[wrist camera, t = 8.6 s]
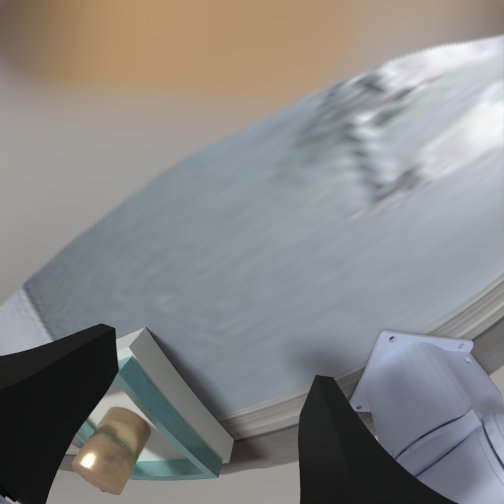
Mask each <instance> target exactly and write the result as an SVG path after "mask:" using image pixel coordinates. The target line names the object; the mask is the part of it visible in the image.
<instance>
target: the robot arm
mask: <svg viewBox="0 0 504 504" xmlns="http://www.w3.org/2000/svg"><path fill="white" fill-rule="evenodd" d="M392 336H394V338H393V339H391V340H389V339H390V337H392ZM460 344H461V345H460ZM459 345H460V346H459ZM472 347H473V342H472V341H471V340H469V339H458V338H448V337H438V336H429V335H420V334H412V333H404V332H396V331H389V330H385V331H383V332H382V333H381V334H380V335H379V338H378V340H377V342H376V345H375V347H374V350H373V352H372V354H371V357H370V359H369V361H368V363H367V366H366V368H365V370H364V372H363V375H362V377H361V379H360V381H359V383H358V385H357V387H356V389H355V391H354V393H353V395H352V397H351V399H350V401H349V402H348V400H347V399H346V397H345V395H344V394H343V392H342V391H341V389H340V388H339V386H338V384H337V383H336V381H335V380H334V378H333V377H327V376H319V375H316V376H315V378H314V381H313V384H312V386H311V389H310V391H309V394H308V396H307V399H306V401H305V404H304V406H303V408H302V411H301V413H300V420H299V433H298V448H299V468H300V490H301V491H300V492H301V493H300V504H504V404H503V399H502V395H501V393H500V391H499V390H498V388H497V387H496V386H495V384H494V383H493V382H492V380H491V379H490V378H489V376H488V375H487V374H486V372H485V371H484V370H483V369H482V367H481V366H480V365H479V364H478V362H477V361H476V360H475V359H474V357H473V356H472V355H471V354H470V351H471V349H472ZM118 371H119V366H118V356H117V345H116V332H115V328H113V327H110V326H107V325H105V324H98V325H95V326H93V327H90V328H87V329H85V330H82V331H80V332H77V333H74V334H72V335H69V336H67V337H64V338H62V339H59V340H56V341H54V342H51V343H48V344H45V345H42V346H39V347H36V348H33V349H30V350H26V351H22V352H18V353H13V354H9V355H3V356H0V504H11V503H10V502H8V501H7V500H6V499H5V497H6V496H7V497H8V498H10V499H11V500H12V501H13V502H16V501H18V502H19V503H20V504H46V501H47V498H48V494H49V491H50V488H51V486H52V483H53V480H54V478H55V475H56V473H57V470H58V468H59V466H60V464H61V462H62V460H63V458H64V455H65V453H66V451H67V450H68V448H69V446H70V444H71V442H72V440H73V438H74V437H75V435H76V434H77V432H78V431H79V429H80V428H81V426H82V425H83V424H84V422H85V421H86V420H87V418H88V417H89V416H90V414H91V413H92V412H93V410H94V409H95V408H96V406H97V405H98V404H99V402H100V401H101V400H102V398H103V397H104V395H105V394H106V393H107V391H108V390H109V388H110V386H111V384H112V383H113V381H114V379H115V377H116V375H117V373H118ZM358 406H359V407H358ZM355 411H360V412H371V414H372V418H373V422H374V425H375V429H376V433H377V437H378V441H379V442H378V441H377V440H376V439H375V437H374V436H373V435H372V434H371V433H370V431H369V430H368V429H367V427H366V426H365V425H364V423H363V422H362V421H361V419H360V418H359V416H358V415H357V414H356V412H355Z"/></svg>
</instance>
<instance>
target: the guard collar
mask: <svg viewBox="0 0 504 504" xmlns="http://www.w3.org/2000/svg"><path fill="white" fill-rule="evenodd" d="M118 366H119V371H118V373H117V375H116V377H115V379H114V381H113V383H112V384H111V386H113V385H117V384H118V385H119V386H120V387H121V388H122V389H123V391H124V392H125V393H126V394H127V396H128V397H129V398H130V399H131V400H132V401H133V403H134V404H135V405H136V406H137V407H138V408H139V409H140V411H141V412H142V413H143V414H144V415H145V416H146V417H147V418H148V419H149V421H150V422H151V423H152V424H153V425H154V426H155V427H156V428H157V429H158V430H159V431H160V432H161V433H162V434H163V435H164V436H165V437H166V438H167V439H168V440H169V441H170V442H171V443H172V444H173V445H174V446H175V447H176V448H177V449H178V450H179V451H180V452H181V453H182V454H183V455H184V456H185V457H187V458H186V459H174V460H158V461H137V463H136V465H135V466H134V468H133V470H132V472H131V474H130V476H129V478H128V479H131V480H196V479H209V478H210V479H211V478H218V477H219V473H220V469H221V465H222V461H223V459H222V458H221V457H220V456H219V455H218V454H217V453H216V452H215V451H214V450H213V449H212V448H211V447H210V446H209V445H208V444H207V443H206V442H205V441H204V440H203V439H202V438H201V437H200V436H199V435H198V434H197V433H196V432H195V431H194V430H193V429H192V427H191V426H190V425H189V424H188V423H187V422H186V421H185V420H184V419H183V418H182V416H181V415H180V414H179V413H178V412H177V411H176V410H175V409H174V407H173V406H172V405H171V404H170V403H169V402H168V400H167V399H166V398H165V397H164V396H163V394H162V393H161V392H160V391H159V390H158V388H157V387H156V386H155V385H154V383H153V382H152V381H151V380H150V378H149V377H148V376H147V374H146V373H145V372H144V370H143V369H142V368H141V367H140V365H139V364H138V363H137V361H136V360H135V358H134V357H133V356H129V357H126V358H124V359H121V360H118ZM94 429H95V427H94V426H93V425H92V424H91V423H90V422H89V421H88V420H86V421H85V422H84V424H83V425H82V426H81V428H80V429H79V431H78V432H77V434H76V437H77V438H78V439H79V440H80V441H81V442H82V443H83V444H85V443H86V441H87V440H88V438H89V437H90V435H91V434H92V432H93V431H94Z"/></svg>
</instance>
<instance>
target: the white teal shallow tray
mask: <svg viewBox="0 0 504 504" xmlns="http://www.w3.org/2000/svg"><path fill="white" fill-rule="evenodd" d="M116 345H117V356H118V360H121V359H124V358H126V357H129V356H133V357H134V358H135V360H136V361H137V363H138V364H139V365H140V367H141V368H142V369H143V370H144V372H145V373H146V374H147V376H148V377H149V378H150V380H151V381H152V382H153V383H154V385H155V386H156V387H157V388H158V390H159V391H160V392H161V393H162V394H163V396H164V397H165V398H166V399H167V400H168V402H169V403H170V404H171V405H172V406H173V407H174V409H175V410H176V411H177V412H178V413H179V414H180V415H181V416H182V418H183V419H184V420H185V421H186V422H187V423H188V424H189V425H190V426H191V427H192V429H193V430H194V431H195V432H196V433H197V434H198V435H199V436H200V437H201V438H202V439H203V440H204V441H205V442H206V443H207V444H208V445H209V446H210V447H211V448H212V449H213V450H214V451H215V452H216V453H217V454H218V455H219V456H220V457H221V458H222V459H223V461H222V464H224V463H229V460H230V456H231V452H232V447H233V443H234V439H233V438H232V437H231V436H230V435H229V433H228V432H227V431H226V430H225V429H224V428H223V427H222V426H221V425H220V423H219V422H218V421H217V420H216V419H215V418H214V417H213V415H212V414H211V413H210V412H209V411H208V410H207V408H206V407H205V406H204V405H203V404H202V402H201V401H200V400H199V399H198V397H197V396H196V395H195V394H194V393H193V391H192V390H191V389H190V387H189V386H188V385H187V384H186V382H185V381H184V380H183V379H182V377H181V376H180V375H179V373H178V372H177V371H176V369H175V368H174V367H173V365H172V364H171V363H170V361H169V360H168V359H167V357H166V356H165V354H164V353H163V352H162V350H161V349H160V347H159V346H158V345H157V343H156V342H155V340H154V339H153V337H152V336H151V334H150V333H149V331H148V330H147V329H146V327H145V328H142V329H140V330H138V331H135V332H133V333H131V334H128V335H126V336H124V337H121V338H119V339H117V340H116ZM111 407H121V408H124V409H127V410H129V411H131V412H133V413H135V414H136V415H138V416H139V417H140V418H141V419H143V420H144V421H145V423H146V424H147V425H148V426H149V428H150V431H151V435H150V437H149V439H148V441H147V443H146V445H145V447H144V449H143V451H142V453H141V455H140V457H139V459H138V461H158V460H174V459H186V458H187V457H185V456H184V455H183V454H182V453H181V452H180V451H179V450H178V449H177V448H176V447H175V446H174V445H173V444H172V443H171V442H170V441H169V440H168V439H167V438H166V437H165V436H164V435H163V434H162V433H161V432H160V431H159V430H158V429H157V428H156V427H155V426H154V425H153V424H152V423H151V422H150V421H149V419H148V418H147V417H146V416H145V415H144V414H143V413H142V412H141V411H140V409H139V408H138V407H137V406H136V405H135V404H134V403H133V401H132V400H131V399H130V398H129V397H128V396H127V394H126V393H125V392H124V391H123V389H122V388H121V387H120V386H119V385H118V384H117V385H113V386H110V388H109V390H108V391H107V393H106V394H105V395H104V397H103V398H102V400H101V401H100V402H99V404H98V405H97V406H96V408H95V409H94V410H93V412H92V413H91V414H90V416H89V417H88V418H87V420H88V421H89V422H90V423H91V424H92V425H93V426H94V427H95V428H96V426H97V425H98V424H99V422H100V421H101V419H102V418H103V416H104V415H105V413H106V412H107V411H108V409H109V408H111ZM71 443H72V444H73V445H75V446H76V447H78V448H82V447H83V445H84V444H83V443H82V442H81V441H80V440H79V439H78V438H77V437H76V435H75V437H74V438H73V440H72V442H71Z"/></svg>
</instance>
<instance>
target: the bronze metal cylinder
mask: <svg viewBox="0 0 504 504" xmlns="http://www.w3.org/2000/svg"><path fill="white" fill-rule="evenodd" d="M150 435H151V431H150V428H149V426H148V425H147V424H146V423H145V421H144V420H143V419H141V418H140V417H139V416H138V415H136V414H135V413H133V412H131V411H129V410H127V409H124V408H121V407H111V408H109V409H108V411H107V412H106V413H105V415H104V416H103V418H102V419H101V421H100V422H99V424H98V425H97V426H96V428H95V429H94V431H93V432H92V434H91V435H90V437H89V438H88V440H87V441H86V443H85V444H84V445H83V447H82V448H81V450H80V451H79V453H78V454H77V456H76V457H75V459H74V460H73V462H72V463H71V465H72V467H73V469H74V470H75V471H76V472H77V473H78V474H79V475H80V476H81V477H83V478H84V479H85V480H86V481H88V482H89V483H91V484H92V485H94V486H96V487H97V488H99V489H100V490H101V491H103V492H108V493H111V494H115V495H120V494H121V492H122V490H123V488H124V486H125V484H126V482H127V480H128V478H129V476H130V474H131V472H132V470H133V468H134V466H135V465H136V463H137V461H138V459H139V457H140V455H141V453H142V451H143V449H144V447H145V445H146V443H147V441H148V439H149V437H150Z"/></svg>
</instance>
